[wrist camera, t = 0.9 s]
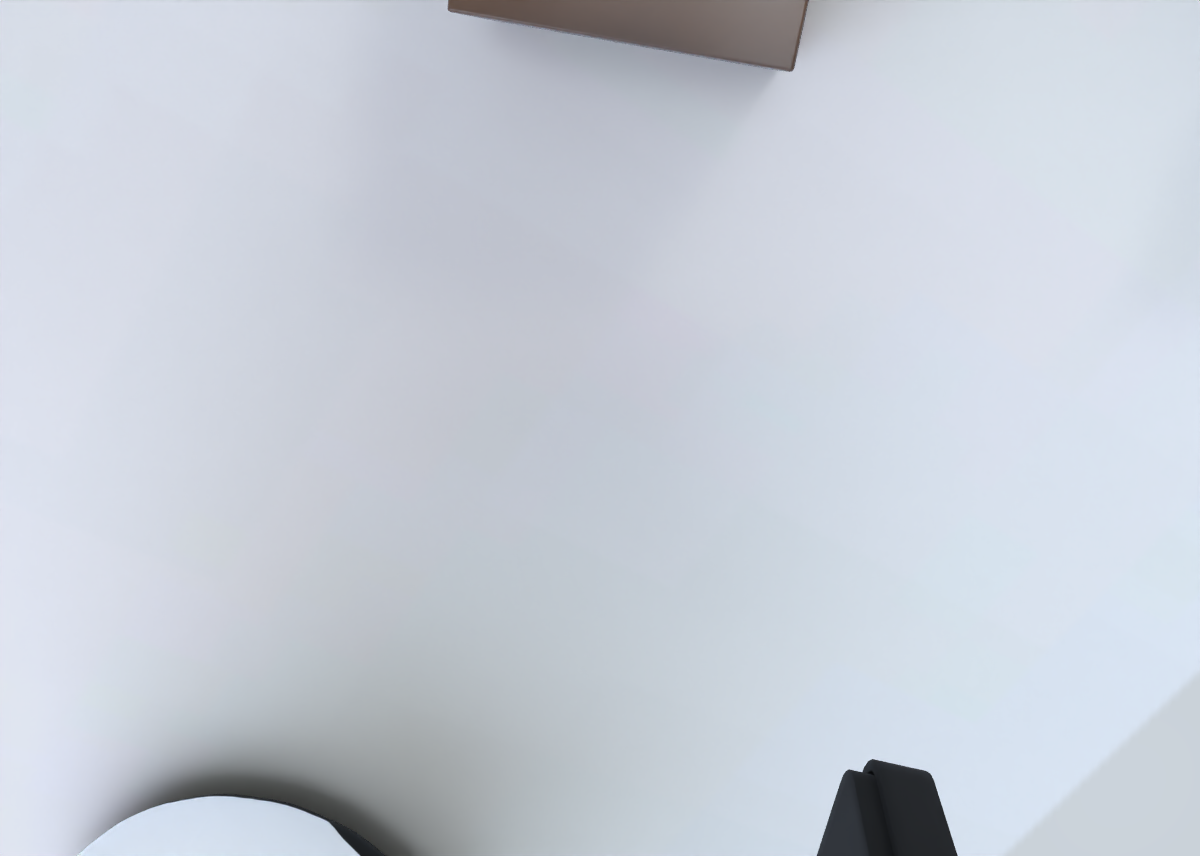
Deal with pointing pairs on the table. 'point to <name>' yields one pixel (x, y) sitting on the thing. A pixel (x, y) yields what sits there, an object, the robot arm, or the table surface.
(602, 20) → the walnut base
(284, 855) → the milk container
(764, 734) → the table surface
